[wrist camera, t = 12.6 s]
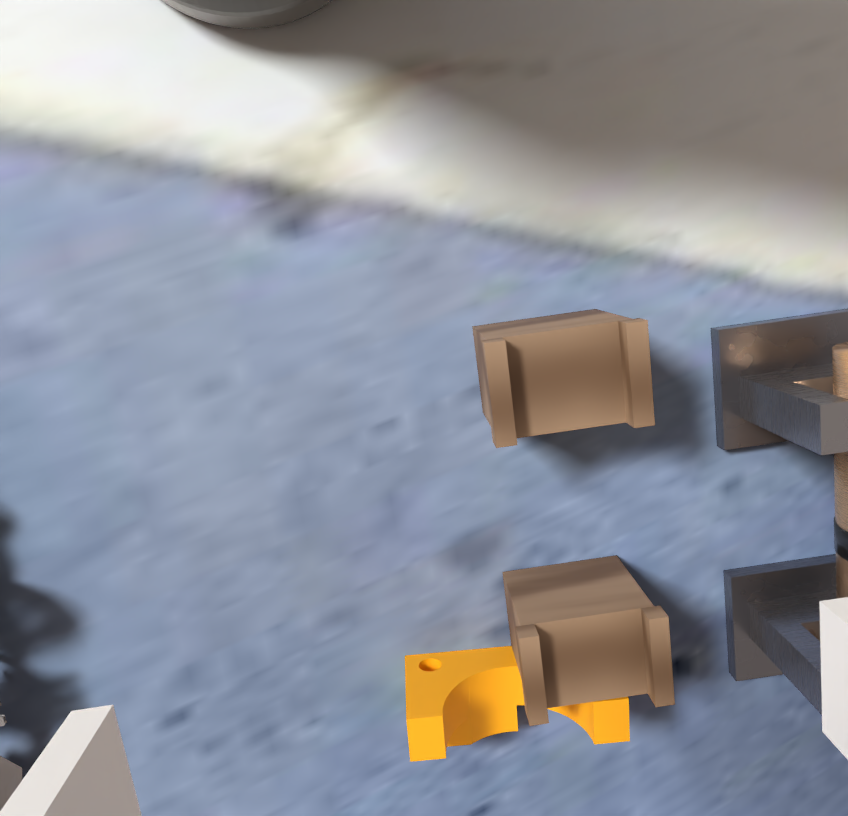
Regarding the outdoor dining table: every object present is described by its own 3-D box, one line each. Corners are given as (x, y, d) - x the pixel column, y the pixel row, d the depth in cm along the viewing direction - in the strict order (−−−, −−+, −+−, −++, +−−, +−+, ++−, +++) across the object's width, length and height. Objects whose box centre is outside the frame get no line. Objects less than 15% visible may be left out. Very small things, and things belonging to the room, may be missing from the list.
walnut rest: (467, 327, 41) (483, 343, 33) (600, 308, 41) (647, 320, 33) (506, 646, 45) (529, 725, 37) (627, 629, 45) (674, 704, 37)
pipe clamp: (410, 715, 46) (412, 789, 39) (404, 653, 45) (406, 719, 39) (597, 698, 46) (630, 768, 40) (596, 636, 45) (629, 698, 39)
